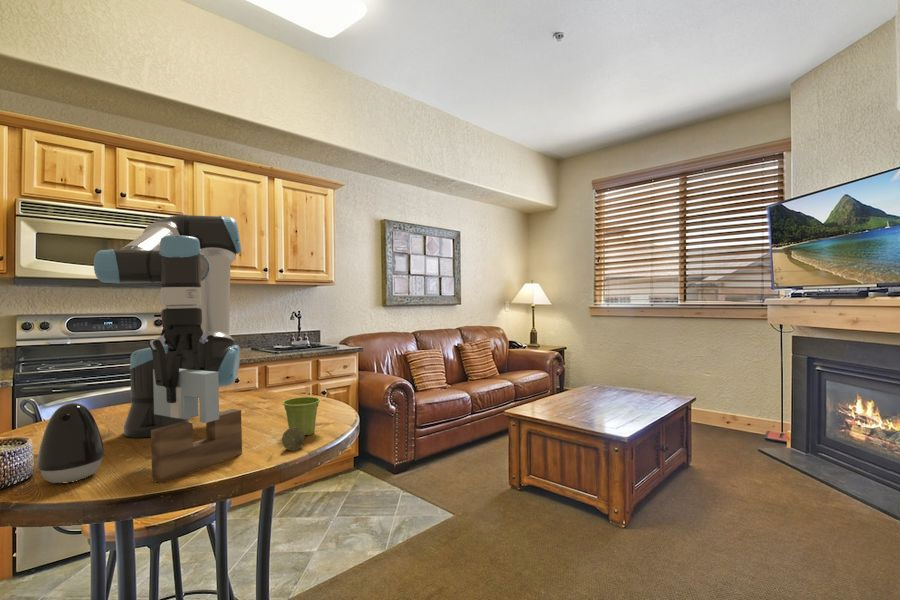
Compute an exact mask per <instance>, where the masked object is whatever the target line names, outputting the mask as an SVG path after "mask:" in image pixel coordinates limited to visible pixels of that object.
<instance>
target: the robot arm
mask: <svg viewBox="0 0 900 600" xmlns="http://www.w3.org/2000/svg"><path fill="white" fill-rule="evenodd" d="M241 253H242V244H241V239H240V233H239V227H238V223H237V220H236V219H235V218H234V217H232V216H222V215H217V216H216V215H193V214H192V215H191V214H190V215H188V214H180V215H179V214H178V215H172V216H167V217H164V218H161V219H158V220H157V221H156V220H155V221H154V222H152V223H150V224H148V226H146V227H145V228H144V230H143V232H142V234H141V235H139V236H138V237H136V238H135V239H133V240H131V242H129V243H127V244H126V245H125V246H123V247H122V248H120V249H114V248H110V249H101V250H98V251H97V252H96V253H95V256H94V258H93V271H94V274H95V277H96V278H97V280H98V281H99V282H101V283H107V284H108V283H109V284H110V283H111V284H137V283H138V284H142V283H143V284H144V283H146V284H147V283H150V284H151V283H153V284H154V283H160V302H161V303H160V306H162V307H164V309H162V310H161V326H162V332H161V333H160V336H158V337H156V338H155V339H149V340H148V342H147V344H148V347H146V348H141V349H138V350H135V351H133V352H132V353H131V355H130V358H129V359H130V364H129V368H128V369H129V374H130V375H129V378H130V400H131V401H130V408H129V409H128V413H127V416H126V418H125V422H124V425H123V436H124V437H127V438H133V439H134V438H151V430H153V429H157V428H161V427H165V426H169V425H172V424H176V423H180V422H189V423H190V418H188V419H180V418H182V406H181V387H177V383H178V375H179V369H190V370H202V371H214V372H218V382H219V388H221V387H230V386H231V385H233V384H234V383H235V381H236V380H237V378H238V373H239V367H240V362H241V361H240V360H241V347H240V346H239V345H237V344H236V343H235V339H234V338H233V337H231V335H230V309H231V308H230V306H231V305H230V304H231V303H230V302H231V301H230V300H231V264H232V263H233V262H234V261H235V260H236V259H237V255H239V254H241ZM153 369H154V372H155V381H156V385H158V386H164V387H165V388H166V400H167V403H170V413H171V417H168V416H162V415H156V414H154V388H153ZM198 414H200V411H199V410H198Z"/></svg>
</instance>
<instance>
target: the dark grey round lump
mask: <svg viewBox="0 0 900 600" xmlns="http://www.w3.org/2000/svg"><path fill="white" fill-rule="evenodd" d="M305 439H306V438H305V435H304V433H303V432H302V431H301V430H300V429H298V428H289V427H288V428H287V430H285V431H284V432H283V434H282V438H281V443H282V445H283V447H284V448H285V449H286V450H289V451H292V452H293V451H297V450H299V449H300V448H301V447H303V445H304V443H305Z"/></svg>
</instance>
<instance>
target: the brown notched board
mask: <svg viewBox="0 0 900 600" xmlns="http://www.w3.org/2000/svg"><path fill="white" fill-rule="evenodd" d="M193 424H194V423H193V422H190V421H189V422H180V423H176V424H172V425H169V426H165V427H161V428H157V429H153V430H151V437H150V447H151V448H150V450H151V454H150V455H151V481H152V480H153V481H152V482H154V481H156V482H155V483H157V482H158V484H161V483H162V484H164V483H166V481H167V482H170V481H172V480H174V479H177V478H181V477H182V476H183V477H184V476H186V475H189V474H190V473H194V472H196V471H200V470H202V469H205V468H207V467H209V466H212V465H216V464H217V463H221V462H223V461H226V460H229V459H232V458H234V457H236V456H239V455H242V454H243V436H242V434H243V433H242V427H243V426H242V409H237V408H231V409H227V410H223V411H219V419H218V420H215V421H211V422H207V423H205V427H206V429H205V430H206V435H205V436H206V438H204V439H201V440H198V441H195V442H194V432H193V431H194V427H193ZM169 480H170V481H169Z"/></svg>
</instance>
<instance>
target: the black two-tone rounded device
mask: <svg viewBox="0 0 900 600" xmlns="http://www.w3.org/2000/svg"><path fill="white" fill-rule="evenodd" d="M39 445H40V446H39V450H38V455H37V466H36V467H37V469H38V471H40V474H41V476H42V477H43V479H45V480H46V481H47V482H49V483H52V484H55V483H63V482H72V481H76V480H80V479H83V478H85V479H87V478H89V477H90V476H91V475H94V473H95V472H96V471H97V470H98V469H99V467H100V466H101V463H102V460H103V458H104V456H105V447H104V443H103V439H102V434H101V432H100V429H99V427H98V424H97V422H96V419H95V417H94V416H93V414H92V413H91V412H90V410H89V409H88V408H87V407H86V406H85V405H83V404H81V403H78V402H69V403H66V404H63V405H61V406H60V407H58V408H56V409H55V411H54V412H53V414H51V417H50V418H49V420H48V422H47V424H46V426H45V429H44V432H43V435H42V439H41V441H40V444H39ZM88 476H89V477H88ZM86 477H87V478H86ZM83 480H84V479H83ZM80 481H81V480H80Z"/></svg>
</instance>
